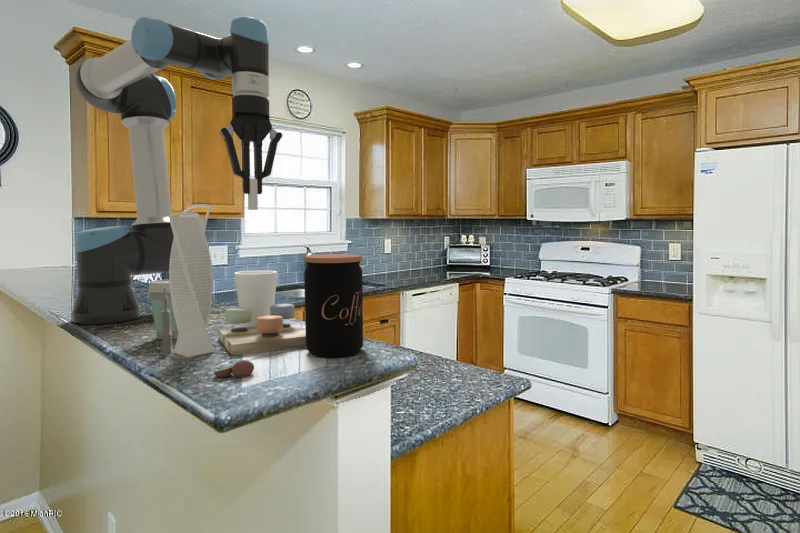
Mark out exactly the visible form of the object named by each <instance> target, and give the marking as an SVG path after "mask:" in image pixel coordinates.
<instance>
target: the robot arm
mask: <svg viewBox="0 0 800 533" xmlns="http://www.w3.org/2000/svg"><path fill="white" fill-rule="evenodd" d="M229 33H230V34H229V35H227V36H224V37H222V38H217V37H214V36H211V35H207V34H204V33H201V32H198V31H194V30H191V29H188V28H185V27H181V26H178V25H174V24H172V23H169V22H166V21H164V20H162V19H156V18H151V17H146V16H142V17H139V18H137V19H136V21H135V24H134V25H133V27H132V30H131V36H130V37H131V38H130V39H129V40H127V41H126V42H124V43H122V44H120V45H119V46H117V47H116V48H114V49H113V50H111V51H109V52H107V53H106V54H104V55H102V56H98V57H97V56H96V57H90V58H88V59H86V60H84V61H83V62H81V63H80V64H79V65H78V67H77V69H76V70H75V73H74V83H75V84H74V85H75V88H76V90H77V91H78V93H79V95H80V97H82V98H83V99H84V101H86V102H87V104H89V105H90V106H92V107H93V108H96V109H97V110H100V111H104V112H107V113H112V114H119V115H120V119H121V121H120V122H121V124H122V125H123V126H124V127H125V128H127V130H128V138H129V148H130V158H131V167H132V178H133V179H132V180H133V187H134V197H135V207H136V219H135V221H133V223H132V224H131V230H130V228H129V226H128V225H115V226H105V227H97V228H90V229H85V230H81V231H79V232H78V233H77V234H76V237H75V249H74V251H75V255H76V256H75V258H76V269H77V270H76V272H77V285H78V287H77V288H78V289H77V290H78V291H77V295H76V297H75V298H76V299H75V301H74V304H73V306H72V307H73V308H72V310H71V322H72V323H73V322H74V323H73V324H76V323H80V324H79V325H103V324H105V325H106V324H114V323H122V322H128V321H132V320H135V319H139V318H140V317H142V316H141V315H142V314H141V307H140V304H139V301H138V300H137V296H136V295H135V293H134V289H133V288H132V276H143V275H144V276H145V275H154V274H155V275H156V274H169V264H170V255H171V249H172V243H173V239H174V235H173V231H172V227H171V224H170V220H169V216H170V215H171V214H173V213H172V202H171V190H170V183H169V182H170V181H169V172H168V170H169V169H168V162H167V161H168V160H167V151H166V150H167V149H166V141H165V129H166V128H168V127H169V125H170V121H172V120H173V119H174V117H175V115H176V113H177V111H176V109H177V98H176V93H175V90H174V87H173V86H172V85H171V83H170V82H169V81H168V79H166V78H164V77H162V76H159V75H155V73H157V72H159V71H161V70H163V69H165V68H167V67H169V66H178V67H181V68H186V69H190V70H192V71H193V70H194V71H198V72H200V73H201V74H202V75H203V76H205V77H206V78H207V79H211V80H221V79H227V78H228V77H230V76H231V94H232V95H233V97H232V98H231V100H232V101H231V102H232V105H231V106H232V117H231V120H230V121H229V125H228V126H226V127H222V128H220V129H219V134H220V135H221V138H223V140H224V142H225V146H226V150H227V153H228V158H229V161H230V164H231V165H230V166H231V170H232V172H233V175H234V176H237V177H239V178H241V179H242V192H243V194H245V195H247V209H248V211H251V210H252V211H258V208H259V207H258V205H259V203H258V201H259V200H258V198H259V197H258V195H262V194H263V179H264V178H267V177H270V176H271V175H272V171H273V166H274V161H275V157H276V152H277V148H278V145H279V144H278V143H279V142H280V140H281V139H282V138H283V134H282V132H278V131H277V130H276V129H274V128H273V124H272V123H271V119H270V100H269V98H268V97H269V96H270V82H269V80H270V79H269V76H270V75H269V74H270V72H269V70H270V69H269V68H270V67H269V66H270V65H269V59H270V58H269V54H270V52H269V51H270V50H269V45H270V41H269V33H268V27H267V25H266V23H265V22H263V20H261V19H258V18H254V17H252V16H251V17H250V16H239V17H235V18H233V19H232V20H231V22H230V29H229ZM234 134H235V135H236V136H237V138H238V139H239V140H240V146H241V166H240V161H239V158H238V154H237V150H236V147H235V142H234V139H233V136H234ZM268 135H269V136H268ZM266 137H269V140H270V141H269V144H268V148H267V153H266V158H265V162H264V166H263V141H264V140H265V139H266ZM251 143H253V146H252V147H253V165H254V167H253V169H254V171H253V172H254V173H253V174H254V177H253V178H251V161H250V160H251V156H250V155H251V152H250V151H251V150H250V149H251V148H250V146H251Z"/></svg>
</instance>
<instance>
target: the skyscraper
mask: <svg viewBox="0 0 800 533" xmlns="http://www.w3.org/2000/svg"><path fill="white" fill-rule="evenodd" d="M195 208H207V211H206V214H205V217H202V216H200V214H199V213H198V212H188V211H190V210H191V209H195ZM211 209H212V206H211V205H209V204H206V203H201V204H199V203H198V204H193V205H190V206H188V207H186V208H185V209H184V210H183V211H182V212H181V211H180V212H175V213H172V214H171V215H170V216H169V220H170V224H171V227H172V231H173V235H174V239H173V243H172V249H171V255H170V264H169V272H168V275H169V276H168V278H169V283H170V294H171V301H172V306H173V311H174V316H175V320H176V324H177V328H178V332H179V334H178V338H177V339H176V343H175V347H174V348H173V339H172V333H171V323H170V310H168V300H167V297H166V288H164V297H163V305H164V311H162V326H163V334H162V337H163V339H162V352H160V354H161V355H163V356H166V357H169V358H171V359H175V360H177V361H180V360H181V361H182V360H185V359H190V358H195V357H200V356H204V355H210V354H215V353H216V351H215V348H214V346H213V343H212V340H211V337H210V334H209V332H208V329H207V328H208V325H209V318H210V314H211V308H212V303H213V302H212V301H213V300H212V299H213V292H214V291H213V290H214V288H213V287H214V273H213V263H212V256H211V252H210V248H209V244H208V240H207V237H206V231H207V225H208V218H209V215H210V212H211ZM173 349H174V350H173Z"/></svg>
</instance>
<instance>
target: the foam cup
mask: <svg viewBox="0 0 800 533" xmlns="http://www.w3.org/2000/svg"><path fill="white" fill-rule="evenodd" d="M233 274H234V276H233V277H234V285H235V288H236V294H237V299H238V301H237V302H238V307H247V308H251V313H252V321H251V322H248V323H242V327H251V326H257V318H258V317H262V316H270V306H271V305H275V303H276V302H275V301H276V293H277V292H276V291H277V283H278V271H277V270H276V271H275V270H267V269H266V270H265V269H264V270H263V269H260V270H259V269H258V270H241V271H236V272H234V273H233Z"/></svg>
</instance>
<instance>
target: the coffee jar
mask: <svg viewBox="0 0 800 533" xmlns="http://www.w3.org/2000/svg"><path fill="white" fill-rule="evenodd" d="M303 259H304V262H305V264H306V267H305V268H304V273H303V276H304V277H303V280H304V315H305V316H304V318H305V319H304V321H305V327H304V328H305V329H306V346H305V348H306V350H307V351H308V353H309V354H310V355H311V356H313V357H316V358H321V357H322V358H323V359H339V358H341V359H342V358H348V357H352V356H355V355H357V354H359V353H360V351H361V350H362V348H363V347H364V315H363V314H364V313H363V312H364V311H363V310H364V309H363V306H364V304H363V300H364V298H363V295H364V294H363V269H362V267H361V266H360V264H361V261H362V260H363V256H362V255H361V254H353V253H351V254H350V253H347V254H346V253H341V254H340V253H337V254H336V253H335V254H334V253H328V254H326V253H325V254H324V253H323V254H311V255H305V256H303Z"/></svg>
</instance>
